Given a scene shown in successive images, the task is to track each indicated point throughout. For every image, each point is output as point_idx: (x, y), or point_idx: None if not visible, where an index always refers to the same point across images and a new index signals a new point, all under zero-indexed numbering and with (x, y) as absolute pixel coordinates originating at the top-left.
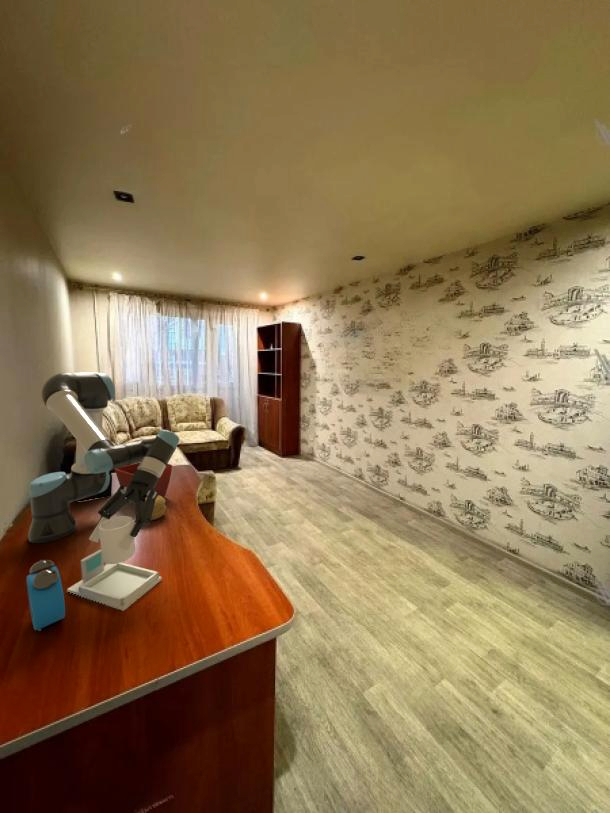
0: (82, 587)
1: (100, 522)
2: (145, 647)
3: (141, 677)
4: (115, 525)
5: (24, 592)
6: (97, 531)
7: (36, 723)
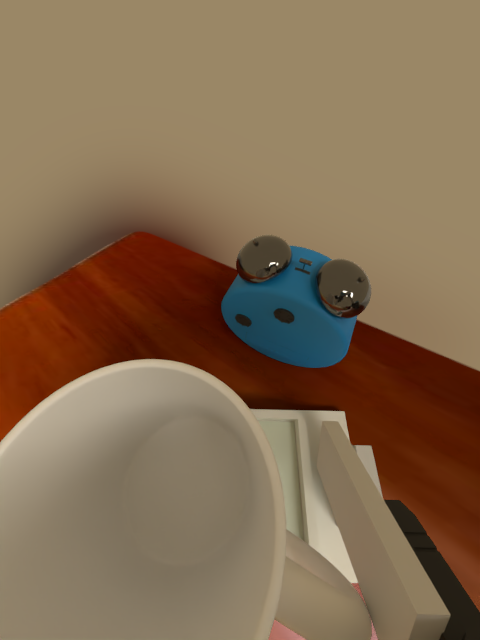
0: (292, 412)
1: (384, 535)
2: (37, 348)
3: (19, 308)
4: (243, 591)
5: (434, 379)
6: (341, 477)
7: (123, 243)
